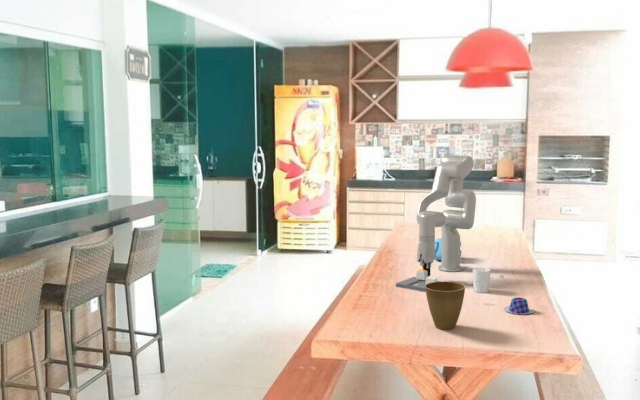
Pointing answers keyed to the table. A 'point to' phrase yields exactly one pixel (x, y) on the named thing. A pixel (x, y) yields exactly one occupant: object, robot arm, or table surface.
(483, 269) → the white cup
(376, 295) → the table surface
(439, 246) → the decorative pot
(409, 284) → the breaker panel
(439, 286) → the plant pot
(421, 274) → the block
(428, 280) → the block
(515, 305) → the purple patterned hat
